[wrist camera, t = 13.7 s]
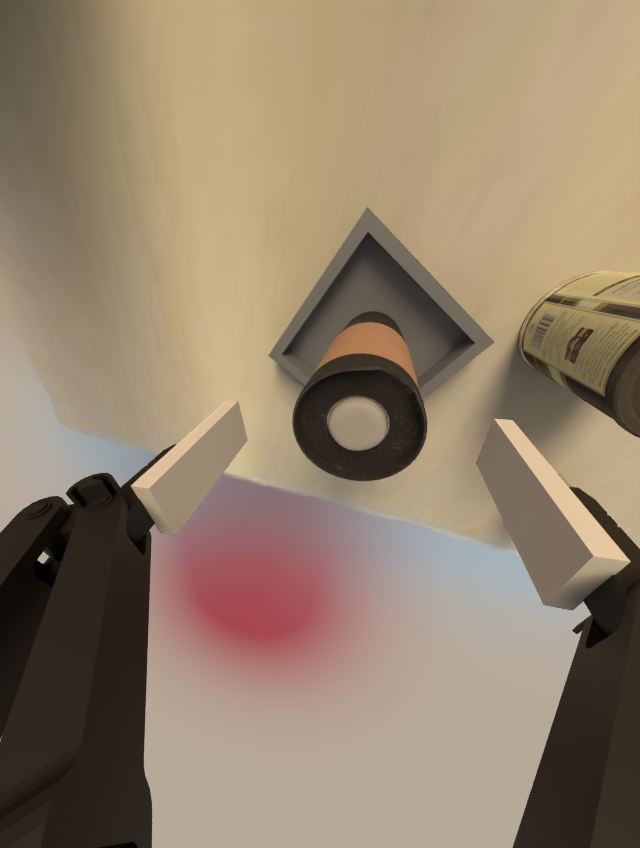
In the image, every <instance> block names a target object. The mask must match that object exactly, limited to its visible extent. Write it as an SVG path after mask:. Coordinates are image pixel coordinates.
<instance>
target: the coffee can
mask: <svg viewBox="0 0 640 848" xmlns="http://www.w3.org/2000/svg"><path fill="white" fill-rule="evenodd" d="M519 350H520V353H521V356H522V358H523V359H524V361H525V362H526V363H527V364H528V365H529V366H530V367H532V368H533V369H535V370H537V371H540V372H541V373H543V374H544V375H546V376H547V377H549V378H550V379H552V380H554V381H555V382H557V383H558V384H560V385H561V386H563V387H564V388H566V389H568V390H569V391H571V392H572V393H574V394H575V395H577V396H578V397H580V398H581V399H583V400H584V401H586V402H587V403H589V404H591V405H592V406H594V407H595V408H597V409H598V410H600V411H601V412H603V413H604V414H606V415H607V416H609V417H611V418H612V419H614V420H615V421H616V423H617V424H618V425H620V426H621V427H622V428H623V429H625V430H626V431H628V432H629V433H631V434H632V435H634V436H636V437H639V438H640V272H615V271H597V272H591V273H587V274H584V275H581V276H577V277H574V278H572V279H570V280H568V281H566V282H564V283H562V284H561V285H559V286H557V287H556V288H554V289H553V290H551V291H550V292H549V293H548V294H546V295H545V296H544V297H543V298H542V299H541V300H540V301H539V302H538V303H537V304H536V305H535V306H534V307H533V308H532V310H531V311H530V313H529V314H528V316H527V318H526V319H525V321H524V323H523V326H522V328H521V331H520V335H519Z"/></svg>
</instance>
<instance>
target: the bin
mask: <svg viewBox="0 0 640 848" xmlns="http://www.w3.org/2000/svg"><path fill="white" fill-rule="evenodd" d="M371 311H375V312H381V313H384V314H386V315H388V316H389V317H391V318H392V319H393V320H394V321H395V322H396V324H397V325H398V327H399V329H400V331H401V333H402V335H403V338H404V340H405V342H406V344H407V347H408V350H409V353H410V356H411V360H412V364H413V368H414V371H415V375H416V379H417V382H418V386H419V390H420V394H421V397H422V399H423V398H424V397H425V396H427V395H428V394H429V393H430V392H432V391H433V390H434V389H435V388H437V387H438V386H439V385H441V384H442V383H443V382H444V381H446V380H447V379H448V378H449V377H451V376H452V375H453V374H455V373H456V372H457V371H458V370H460V369H461V368H462V367H463V366H465V365H466V364H467V363H468V362H470V361H471V360H472V359H474V358H475V357H476V356H477V355H479V354H480V353H481V352H482V351H484V350H485V349H486V348H487V347H489V346H490V345H491V344H493V343H494V341H493V340H492V339H491V338H490V337H489V336H488V335H487V334H486V333H485V332H484V330H483V329H482V328H481V327H480V326H479V325H478V324H477V323H476V322H475V321H474V320H473V319H472V318H471V317H470V316H469V315H468V313H467V312H466V311H465V310H464V309H463V308H462V307H461V306H460V305H459V304H458V303H457V302H456V301H455V300H454V299H453V298H452V296H451V295H450V294H449V293H448V292H447V291H446V290H445V289H444V288H443V287H442V286H441V285H440V284H439V283H438V282H437V281H436V279H435V278H434V277H433V276H432V275H431V274H430V273H429V272H428V271H427V270H426V269H425V268H424V267H423V266H422V265H421V264H420V262H419V261H418V260H417V259H416V258H415V257H414V256H413V255H412V254H411V253H410V252H409V251H408V250H407V249H406V248H405V247H404V245H403V244H402V243H401V242H400V241H399V240H398V239H397V238H396V237H395V236H394V235H393V234H392V233H391V232H390V231H389V230H388V228H387V227H386V226H385V225H384V224H383V223H382V222H381V221H380V220H379V219H378V218H377V217H376V216H375V215H374V214H373V213H372V211H371V210H370V209H369V208H368V207H367V209H366V210H365V212H364V213H363V215H362V216H361V218H360V219H359V221H358V222H357V224H356V225H355V227H354V228H353V230H352V231H351V233H350V234H349V236H348V237H347V239H346V240H345V242H344V243H343V245H342V246H341V248H340V249H339V251H338V252H337V254H336V255H335V257H334V258H333V260H332V261H331V263H330V264H329V266H328V267H327V269H326V270H325V272H324V273H323V275H322V276H321V278H320V279H319V281H318V282H317V284H316V285H315V287H314V288H313V290H312V291H311V293H310V294H309V296H308V297H307V299H306V300H305V302H304V303H303V305H302V306H301V308H300V309H299V311H298V312H297V314H296V315H295V317H294V318H293V320H292V321H291V323H290V324H289V326H288V327H287V329H286V330H285V332H284V333H283V335H282V336H281V338H280V339H279V341H278V342H277V344H276V345H275V347H274V348H273V350H272V351H271V353H270V354H269V356H270V357H271V358H272V359H273V360H274V361H276V362H277V363H278V364H279V365H281V366H282V367H283V368H284V369H285V370H287V371H288V372H289V373H290V374H291V375H293V376H294V377H295V378H296V379H298V380H299V381H300V382H301V383H302V384H304V385H305V386H306V384H307V382H308V381H309V379H310V378H311V376H312V374H313V373H314V371H315V370H316V368H317V367H318V365H319V363H320V362H321V360H322V359H323V357H324V355H325V354H326V352H327V351H328V349H329V348H330V346H331V344H332V343H333V341H334V340H335V339H336V337H337V336H338V335H339V334H340V333H341V331H342V330H343V329H344V328H345V327H346V326H347V324H348V323H349V322H350V321H351V320H352V319H353V318H355V317H356V316H358V315H360V314H362V313H365V312H371Z"/></svg>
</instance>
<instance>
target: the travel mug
mask: <svg viewBox="0 0 640 848" xmlns="http://www.w3.org/2000/svg"><path fill="white" fill-rule="evenodd" d="M293 431H294V435H295V438H296V441H297V443H298V445H299V447H300V448H301V450H302V452H303V453H304V454H305V455H306V457H307V458H308V459H309V460H310V461H311V462H312V463H314V464H315V465H316V466H317V467H319V468H320V469H322V470H324V471H325V472H327V473H329V474H332V475H334V476H337V477H340V478H343V479H348V480H354V481H373V480H379V479H383V478H387V477H390V476H392V475H394V474H397V473H398V472H400V471H402V470H403V469H405V468H406V467H407V466H409V465H410V464H411V463H412V462H413V461H414V460H415V459H416V457H417V456H418V455H419V453H420V451H421V449H422V448H423V445H424V442H425V440H426V434H427V418H426V412H425V408H424V405H423V401H422V397H421V394H420V390H419V386H418V382H417V379H416V375H415V371H414V368H413V364H412V360H411V356H410V353H409V350H408V347H407V344H406V342H405V340H404V338H403V335H402V333H401V331H400V329H399V327H398V325H397V324H396V322H395V321H394V320H393V319H392V318H391V317H389V316H388V315H386V314H384V313H381V312H375V311H371V312H365V313H362V314H360V315H358V316H356V317H355V318H353V319H352V320H351V321H350V322H349V323H348V324H347V326H346V327H345V328H344V329H343V330H342V331H341V333H340V334H339V335H338V336H337V337H336V339H335V340H334V341H333V343H332V344H331V346H330V348H329V349H328V351H327V352H326V354H325V355H324V357H323V359H322V360H321V362H320V363H319V365H318V367H317V368H316V370H315V371H314V373H313V374H312V376H311V378H310V379H309V381H308V382H307V384H306V386H305V387H304V389H303V390H302V392H301V393H300V395H299V397H298V400H297V402H296V404H295V408H294V411H293Z"/></svg>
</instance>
